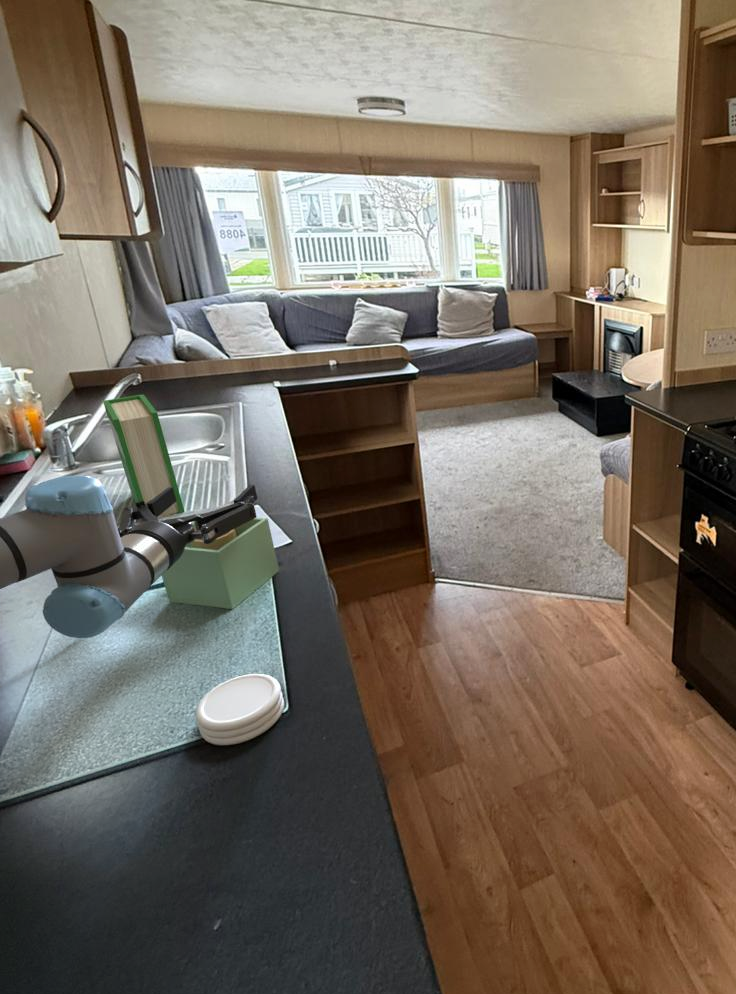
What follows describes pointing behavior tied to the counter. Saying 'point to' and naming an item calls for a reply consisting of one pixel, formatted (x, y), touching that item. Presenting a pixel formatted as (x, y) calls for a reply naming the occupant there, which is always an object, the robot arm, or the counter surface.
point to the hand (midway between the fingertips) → (213, 492)
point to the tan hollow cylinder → (215, 541)
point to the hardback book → (142, 449)
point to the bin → (224, 569)
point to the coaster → (239, 709)
